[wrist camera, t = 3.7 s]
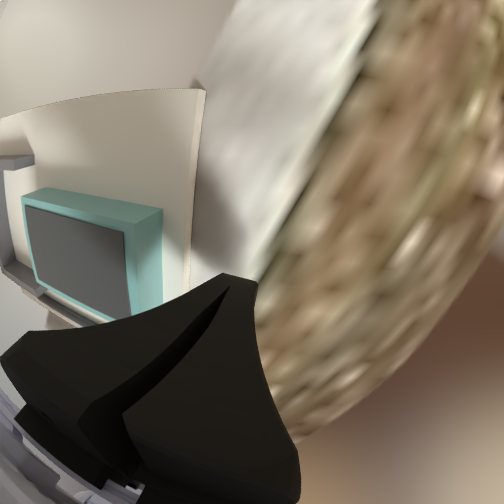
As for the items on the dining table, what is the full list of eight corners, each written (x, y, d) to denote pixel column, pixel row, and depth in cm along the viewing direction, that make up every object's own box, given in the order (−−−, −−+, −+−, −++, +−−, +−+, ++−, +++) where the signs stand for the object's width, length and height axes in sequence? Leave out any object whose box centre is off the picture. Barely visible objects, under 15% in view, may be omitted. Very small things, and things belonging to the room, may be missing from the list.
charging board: (206, 91, 8) (175, 81, 6) (189, 371, 14) (173, 398, 12) (7, 117, 11) (-17, 122, 9) (27, 289, 17) (10, 301, 15)
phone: (162, 208, 10) (133, 224, 8) (164, 313, 12) (143, 337, 10) (45, 187, 11) (19, 196, 9) (56, 268, 13) (35, 282, 12)
